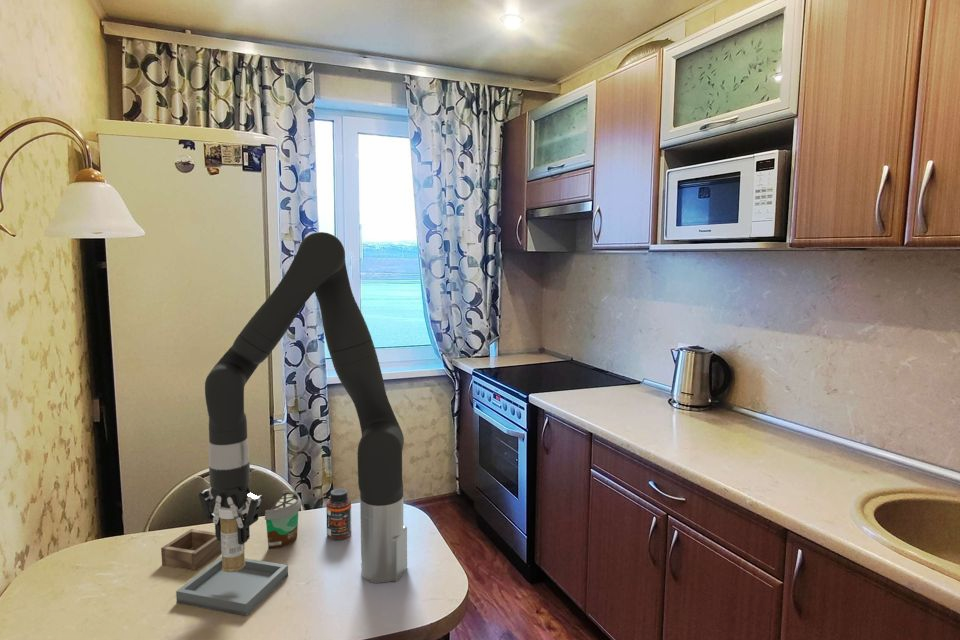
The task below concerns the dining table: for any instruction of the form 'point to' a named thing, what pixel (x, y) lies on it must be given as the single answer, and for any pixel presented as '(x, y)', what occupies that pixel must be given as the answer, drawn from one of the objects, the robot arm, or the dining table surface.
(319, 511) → the dining table surface
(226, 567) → the sprinkles bottle
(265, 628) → the dining table surface
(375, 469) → the robot arm
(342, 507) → the supplement bottle
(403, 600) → the dining table surface
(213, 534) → the socket
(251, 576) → the tray
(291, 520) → the food container
